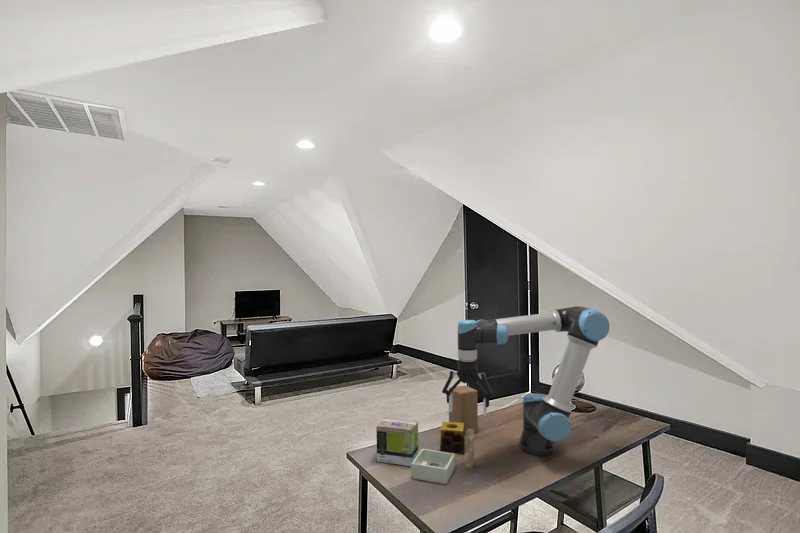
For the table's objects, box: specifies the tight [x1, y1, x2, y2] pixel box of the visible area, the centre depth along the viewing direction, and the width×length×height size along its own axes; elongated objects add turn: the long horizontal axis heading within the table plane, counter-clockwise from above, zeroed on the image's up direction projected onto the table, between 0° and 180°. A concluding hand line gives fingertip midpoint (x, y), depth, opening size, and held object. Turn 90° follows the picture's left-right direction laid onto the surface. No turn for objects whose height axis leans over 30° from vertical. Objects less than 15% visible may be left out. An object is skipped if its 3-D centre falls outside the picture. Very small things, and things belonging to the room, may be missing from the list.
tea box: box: [376, 418, 419, 467], centre depth 176 cm, size 15×10×15 cm, turn 71°
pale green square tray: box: [410, 448, 456, 485], centre depth 165 cm, size 14×14×6 cm
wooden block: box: [448, 384, 479, 436], centre depth 205 cm, size 10×10×20 cm
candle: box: [439, 421, 466, 455], centre depth 186 cm, size 10×10×10 cm
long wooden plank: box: [465, 429, 475, 470], centre depth 170 cm, size 2×4×14 cm, turn 160°
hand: (467, 413), depth 171 cm, fingers open, 13 cm apart
